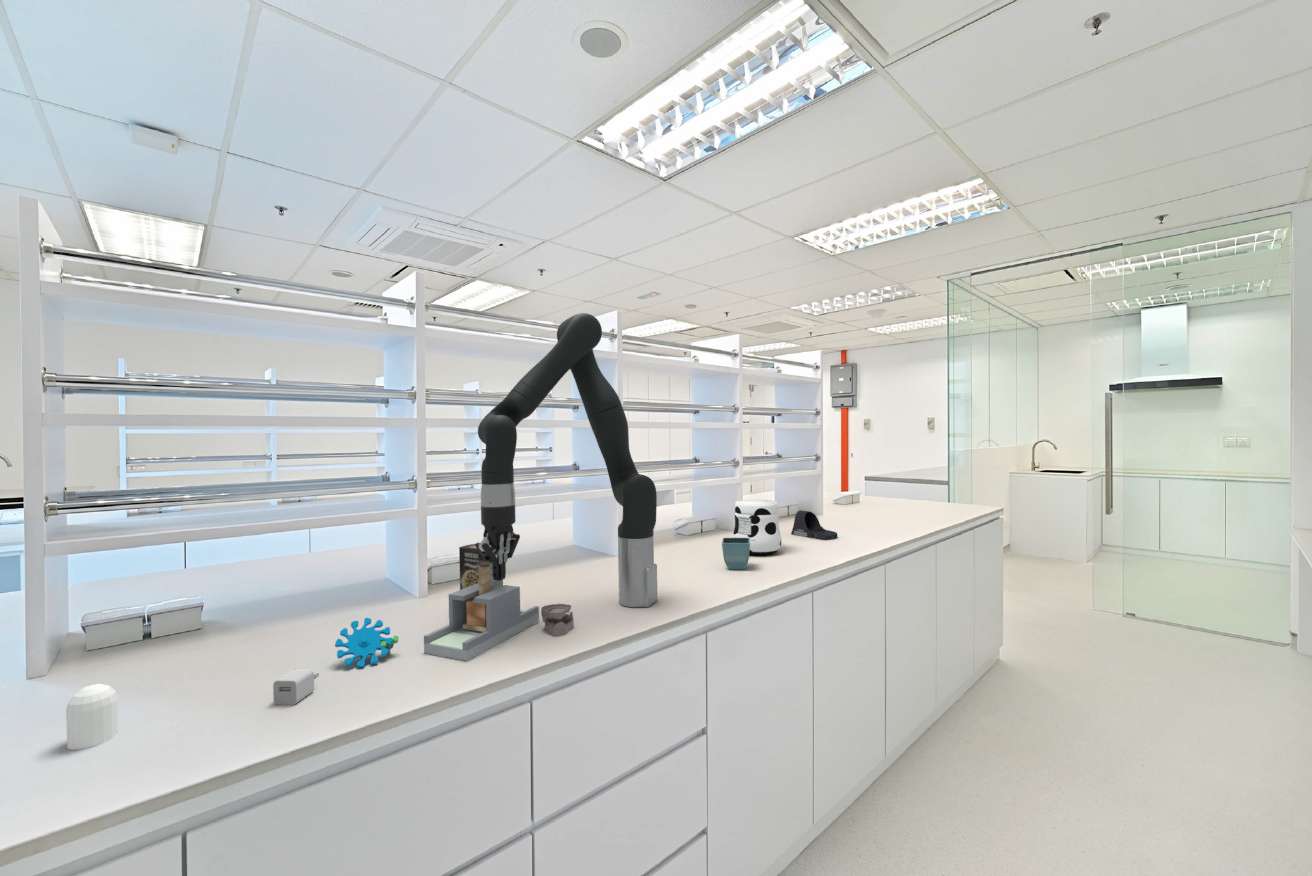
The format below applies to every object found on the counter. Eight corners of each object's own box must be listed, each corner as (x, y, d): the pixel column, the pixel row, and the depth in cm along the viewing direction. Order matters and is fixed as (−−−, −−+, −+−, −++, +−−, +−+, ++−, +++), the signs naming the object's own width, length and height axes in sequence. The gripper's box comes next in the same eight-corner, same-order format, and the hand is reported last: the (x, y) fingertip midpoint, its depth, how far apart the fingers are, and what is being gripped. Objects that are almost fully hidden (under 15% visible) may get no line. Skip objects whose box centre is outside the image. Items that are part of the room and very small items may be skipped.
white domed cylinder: (59, 745, 80) (57, 690, 80) (106, 727, 85) (104, 675, 85) (79, 752, 78) (78, 696, 78) (126, 733, 83) (125, 680, 83)
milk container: (778, 547, 207) (777, 499, 207) (784, 557, 190) (784, 505, 190) (731, 546, 209) (731, 499, 208) (733, 557, 191) (733, 505, 191)
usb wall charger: (273, 704, 92) (273, 680, 92) (302, 685, 98) (301, 663, 98) (296, 704, 91) (296, 680, 91) (324, 685, 98) (323, 663, 98)
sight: (826, 541, 217) (825, 516, 217) (790, 534, 232) (789, 511, 232) (840, 538, 222) (840, 513, 222) (804, 532, 237) (804, 508, 237)
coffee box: (459, 611, 138) (457, 546, 138) (478, 604, 144) (477, 542, 144) (486, 616, 134) (484, 550, 134) (504, 608, 140) (503, 544, 139)
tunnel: (539, 621, 130) (538, 578, 130) (466, 661, 108) (465, 610, 107) (501, 615, 134) (500, 574, 134) (424, 653, 112) (423, 603, 112)
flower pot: (721, 571, 173) (721, 542, 173) (723, 564, 182) (722, 537, 182) (750, 572, 172) (750, 543, 171) (750, 565, 180) (749, 537, 180)
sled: (507, 621, 123) (506, 558, 123) (486, 632, 116) (485, 566, 116) (484, 618, 125) (483, 556, 125) (462, 628, 119) (461, 563, 119)
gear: (330, 666, 102) (340, 616, 109) (330, 679, 106) (339, 630, 113) (395, 663, 107) (401, 615, 114) (393, 676, 110) (399, 629, 117)
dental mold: (555, 621, 129) (555, 600, 129) (580, 626, 126) (579, 604, 126) (533, 633, 122) (533, 611, 122) (559, 638, 119) (559, 615, 119)
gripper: (491, 507, 118) (493, 589, 118) (529, 500, 130) (530, 574, 130) (464, 506, 121) (465, 585, 121) (503, 499, 133) (504, 571, 133)
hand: (499, 579), depth 125 cm, fingers closed
